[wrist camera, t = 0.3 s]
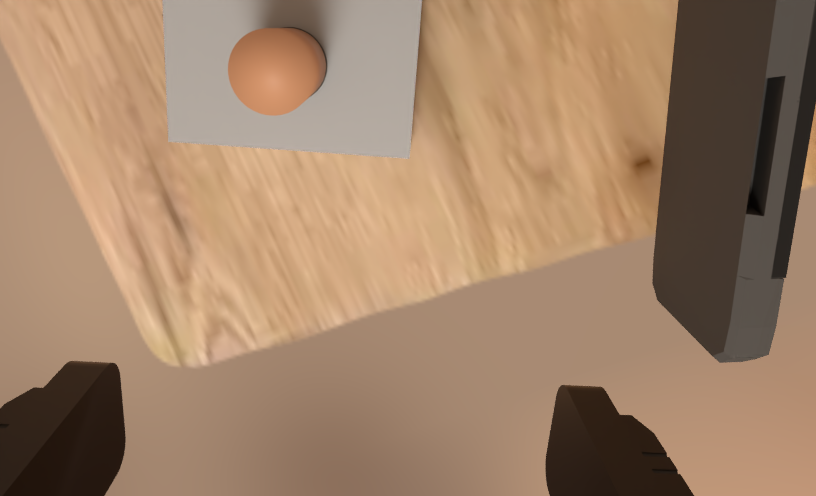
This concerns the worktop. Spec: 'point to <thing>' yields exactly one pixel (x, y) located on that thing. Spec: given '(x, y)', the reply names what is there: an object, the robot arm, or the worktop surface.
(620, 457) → the robot arm
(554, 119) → the worktop surface
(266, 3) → the jig board
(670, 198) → the handheld gaming console
